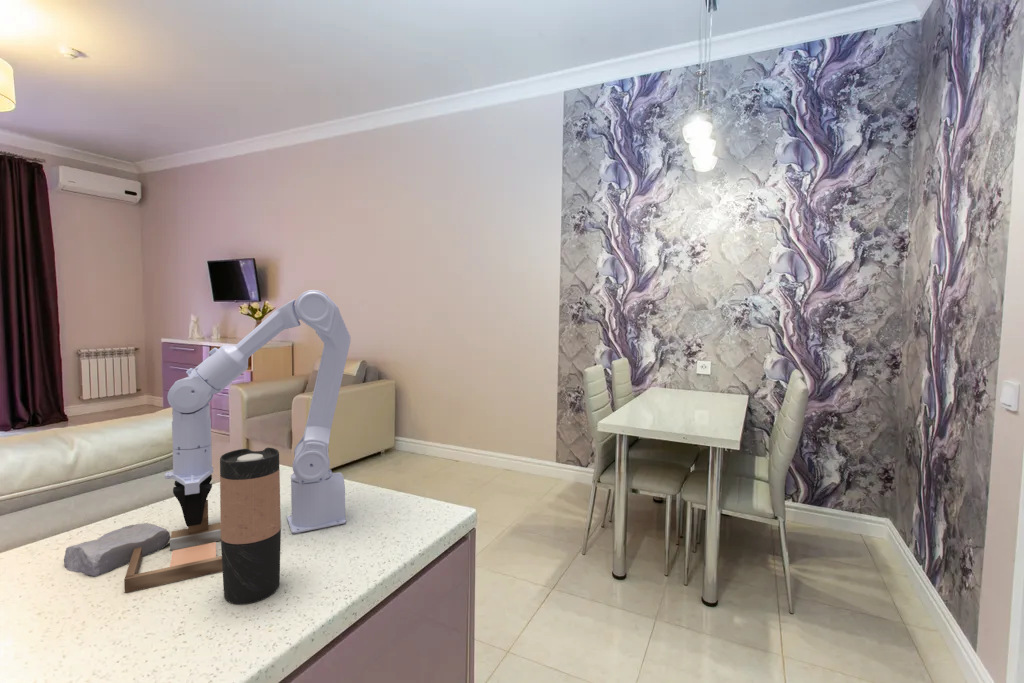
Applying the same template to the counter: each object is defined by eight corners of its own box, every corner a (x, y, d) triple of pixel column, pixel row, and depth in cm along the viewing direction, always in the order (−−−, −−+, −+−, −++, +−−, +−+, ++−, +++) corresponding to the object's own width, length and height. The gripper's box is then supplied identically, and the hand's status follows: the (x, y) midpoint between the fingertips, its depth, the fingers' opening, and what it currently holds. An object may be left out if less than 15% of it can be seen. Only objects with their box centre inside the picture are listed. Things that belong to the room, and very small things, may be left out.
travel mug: (240, 612, 66) (238, 465, 65) (210, 594, 70) (207, 456, 69) (292, 586, 73) (291, 452, 71) (262, 570, 77) (260, 444, 76)
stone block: (56, 579, 77) (96, 579, 73) (52, 548, 77) (92, 547, 74) (137, 548, 88) (175, 547, 85) (134, 521, 88) (172, 519, 85)
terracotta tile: (216, 553, 83) (215, 541, 83) (216, 569, 78) (216, 557, 78) (172, 562, 80) (172, 550, 80) (170, 580, 75) (169, 567, 74)
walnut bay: (247, 538, 87) (247, 527, 87) (251, 564, 78) (251, 552, 78) (134, 560, 79) (134, 548, 79) (124, 593, 70) (124, 579, 70)
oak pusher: (224, 529, 91) (223, 497, 90) (225, 539, 87) (224, 506, 86) (171, 539, 86) (170, 505, 86) (170, 550, 82) (169, 515, 82)
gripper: (167, 438, 90) (169, 511, 91) (161, 459, 78) (163, 543, 79) (212, 434, 94) (213, 504, 95) (213, 453, 82) (215, 533, 83)
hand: (194, 521), depth 87 cm, fingers closed on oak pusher, 2 cm apart
